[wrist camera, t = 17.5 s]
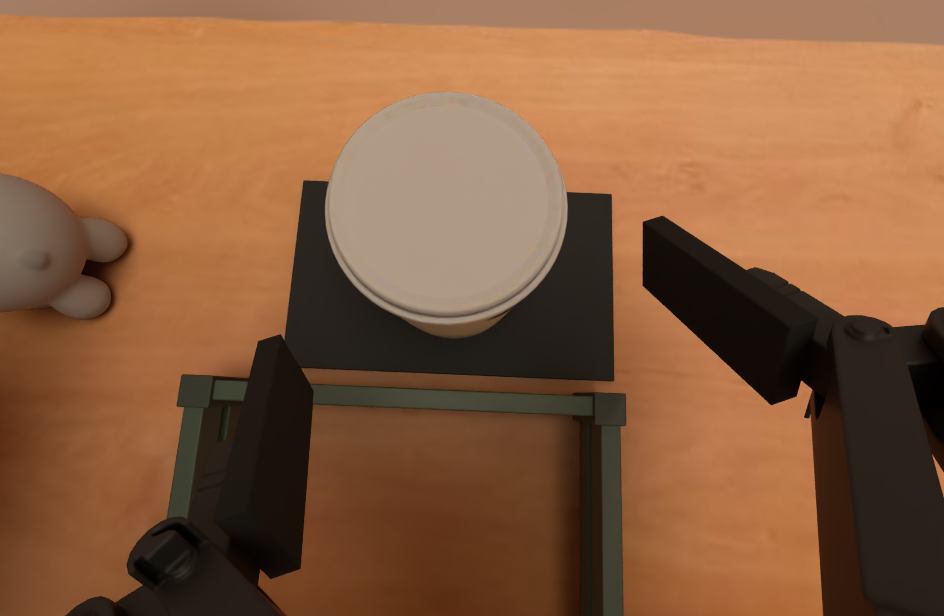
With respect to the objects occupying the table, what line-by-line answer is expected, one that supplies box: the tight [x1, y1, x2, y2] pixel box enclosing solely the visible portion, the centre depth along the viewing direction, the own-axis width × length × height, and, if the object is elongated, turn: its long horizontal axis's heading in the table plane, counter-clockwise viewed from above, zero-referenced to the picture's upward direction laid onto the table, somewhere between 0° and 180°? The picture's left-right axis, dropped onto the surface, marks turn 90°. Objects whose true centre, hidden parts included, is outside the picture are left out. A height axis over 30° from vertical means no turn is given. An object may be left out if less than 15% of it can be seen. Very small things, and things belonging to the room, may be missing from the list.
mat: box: [285, 181, 614, 381], centre depth 29 cm, size 20×12×1 cm, turn 87°
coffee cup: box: [325, 92, 568, 339], centre depth 23 cm, size 9×9×12 cm
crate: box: [167, 374, 626, 616], centre depth 24 cm, size 22×18×5 cm
